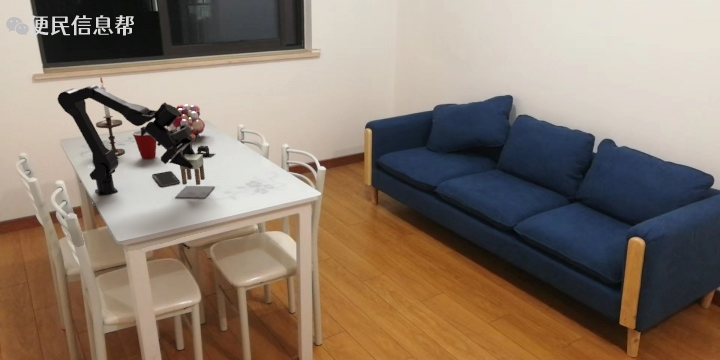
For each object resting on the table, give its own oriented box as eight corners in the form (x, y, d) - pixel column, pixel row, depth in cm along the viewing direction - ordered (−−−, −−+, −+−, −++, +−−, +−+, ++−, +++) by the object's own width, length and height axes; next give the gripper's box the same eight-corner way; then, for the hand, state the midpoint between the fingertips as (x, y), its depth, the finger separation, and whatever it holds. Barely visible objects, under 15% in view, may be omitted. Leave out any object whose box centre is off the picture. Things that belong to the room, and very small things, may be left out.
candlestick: (121, 157, 249) (107, 78, 237) (97, 157, 250) (82, 78, 237) (131, 149, 260) (118, 73, 247) (107, 150, 260) (94, 74, 248)
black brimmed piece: (220, 154, 253) (219, 145, 252) (213, 159, 247) (212, 149, 245) (194, 153, 256) (193, 143, 254) (187, 158, 249) (185, 148, 247)
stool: (182, 184, 204) (179, 159, 201) (188, 178, 210) (185, 154, 207) (199, 184, 204) (196, 159, 200) (205, 178, 210) (202, 154, 206)
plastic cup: (165, 153, 253) (162, 128, 249) (155, 161, 243) (151, 134, 239) (142, 153, 254) (138, 127, 250) (131, 161, 244) (127, 134, 240)
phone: (159, 185, 214) (151, 174, 226) (160, 188, 214) (151, 176, 226) (180, 181, 217) (171, 170, 230) (181, 184, 218) (171, 173, 230)
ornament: (213, 137, 284) (198, 100, 284) (204, 133, 265) (188, 94, 265) (179, 150, 283) (164, 113, 283) (168, 147, 264) (152, 108, 263)
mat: (175, 198, 204) (175, 196, 203) (186, 187, 214) (186, 185, 214) (205, 198, 203) (205, 197, 203) (214, 187, 213) (214, 186, 213)
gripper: (165, 126, 190) (200, 158, 193) (185, 113, 208) (217, 142, 211) (145, 148, 193) (181, 179, 197) (166, 133, 211) (198, 162, 214)
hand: (195, 164), depth 204 cm, fingers closed on stool, 6 cm apart
